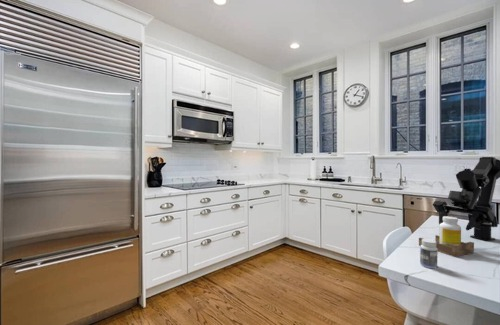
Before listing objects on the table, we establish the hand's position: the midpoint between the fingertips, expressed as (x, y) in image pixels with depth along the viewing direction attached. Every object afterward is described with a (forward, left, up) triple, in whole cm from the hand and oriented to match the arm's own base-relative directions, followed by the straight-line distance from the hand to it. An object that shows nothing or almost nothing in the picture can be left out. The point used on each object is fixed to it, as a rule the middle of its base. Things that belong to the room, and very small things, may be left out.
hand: (452, 226), depth 100 cm
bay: (+2, -2, -9) cm, 9 cm away
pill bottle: (+24, +7, -9) cm, 26 cm away
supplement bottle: (+2, 0, -9) cm, 9 cm away
